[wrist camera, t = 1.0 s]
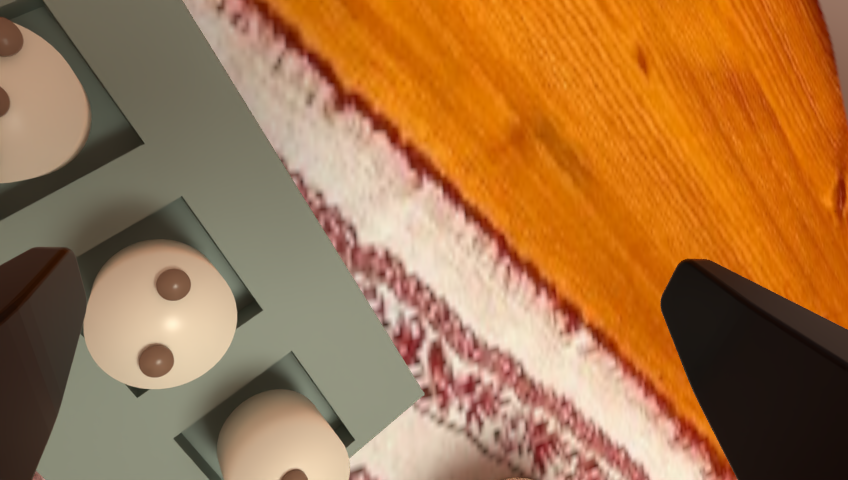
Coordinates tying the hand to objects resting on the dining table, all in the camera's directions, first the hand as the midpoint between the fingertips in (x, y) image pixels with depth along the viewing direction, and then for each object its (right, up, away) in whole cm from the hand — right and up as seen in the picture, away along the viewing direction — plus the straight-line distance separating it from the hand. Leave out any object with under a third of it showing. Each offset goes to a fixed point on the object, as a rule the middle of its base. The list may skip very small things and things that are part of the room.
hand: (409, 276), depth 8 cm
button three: (-12, +4, +8) cm, 15 cm away
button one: (-6, -7, +13) cm, 16 cm away
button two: (-9, -1, +10) cm, 14 cm away
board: (-10, -1, +12) cm, 16 cm away
